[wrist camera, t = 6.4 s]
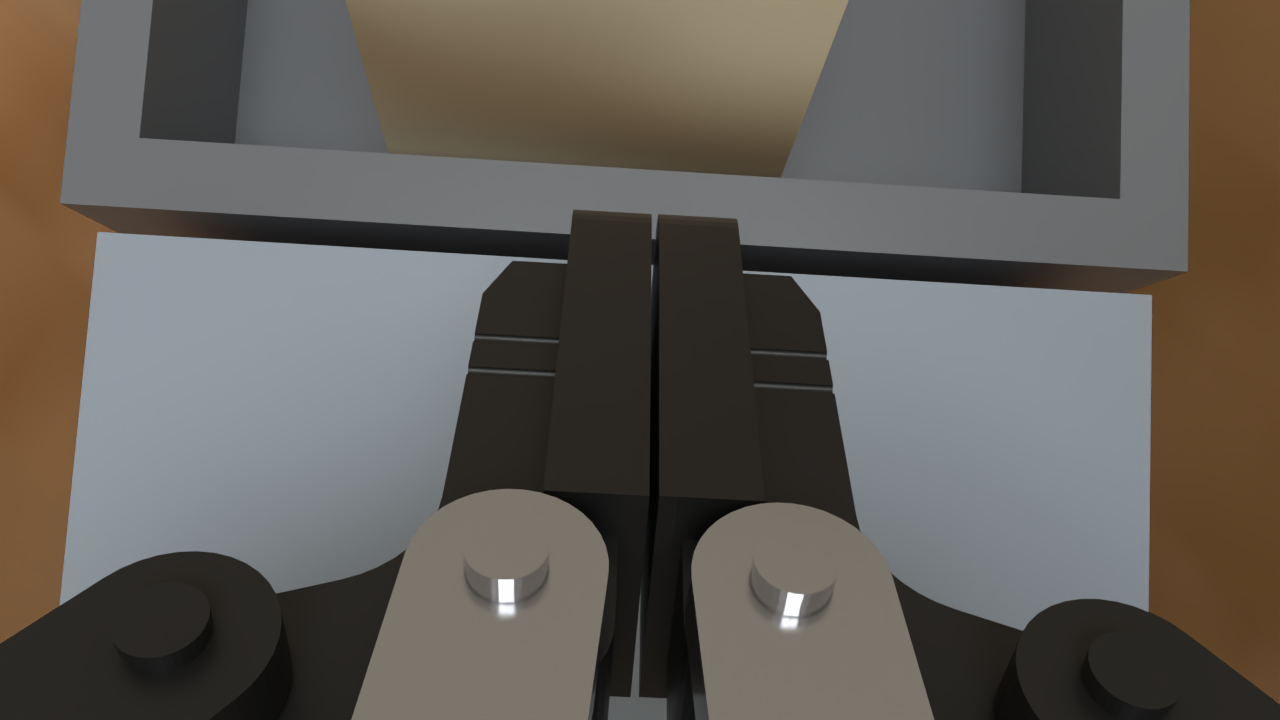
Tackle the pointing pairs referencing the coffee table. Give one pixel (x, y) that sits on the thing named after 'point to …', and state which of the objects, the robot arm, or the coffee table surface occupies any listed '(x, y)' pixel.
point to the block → (597, 79)
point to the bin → (764, 206)
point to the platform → (433, 386)
